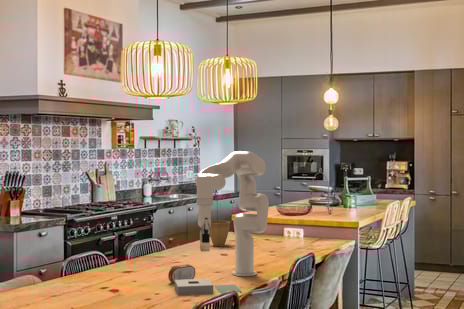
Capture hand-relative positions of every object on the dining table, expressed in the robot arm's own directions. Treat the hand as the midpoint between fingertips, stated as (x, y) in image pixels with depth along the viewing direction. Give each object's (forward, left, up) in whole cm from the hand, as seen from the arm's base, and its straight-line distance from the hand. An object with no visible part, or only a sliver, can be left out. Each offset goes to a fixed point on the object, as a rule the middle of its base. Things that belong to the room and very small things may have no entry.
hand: (205, 241), depth 281 cm
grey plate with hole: (0, -5, -23) cm, 23 cm away
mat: (0, +11, -23) cm, 25 cm away
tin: (-19, -8, -23) cm, 31 cm away
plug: (0, 0, -4) cm, 4 cm away
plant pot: (-125, +29, -23) cm, 130 cm away
